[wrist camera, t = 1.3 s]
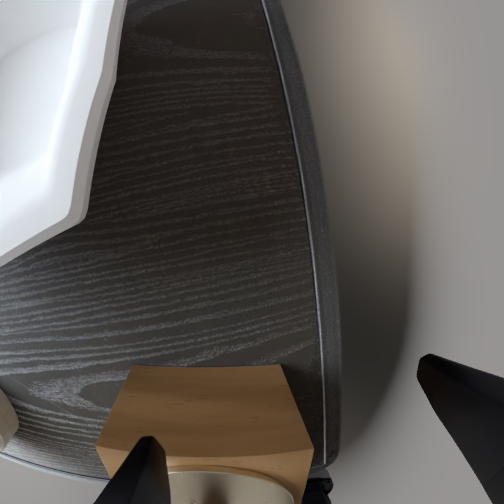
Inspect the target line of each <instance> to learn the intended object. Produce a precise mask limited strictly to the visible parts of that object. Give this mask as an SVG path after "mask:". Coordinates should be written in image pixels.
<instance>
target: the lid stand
mask: <svg viewBox="0 0 504 504" xmlns="http://www.w3.org/2000/svg"><path fill="white" fill-rule="evenodd" d="M142 436H154V437H155V438H156V439H157V441H158V442H159V443H160V444H161V446H162V447H163V448H164V450H165V453H166V461H167V467H173V466H185V465H211V466H224V467H233V468H240V469H245V470H250V471H254V472H258V473H262V474H265V475H267V476H270V477H273V478H275V479H277V480H279V481H280V482H282V483H283V484H285V485H286V486H287V487H288V488H289V490H290V491H291V493H292V496H293V500H294V504H301V500H302V497H303V493H304V489H305V485H306V482H307V478H308V474H309V469H310V465H311V461H312V457H313V452H314V447H313V444H312V442H311V440H310V437H309V435H308V432H307V430H306V427H305V425H304V422H303V420H302V418H301V415H300V413H299V410H298V408H297V405H296V403H295V400H294V398H293V395H292V393H291V390H290V388H289V385H288V383H287V380H286V378H285V375H284V373H283V370H282V368H281V365H280V364H275V365H259V366H237V367H169V366H147V365H133V366H132V368H131V370H130V372H129V374H128V376H127V378H126V380H125V382H124V384H123V386H122V388H121V390H120V392H119V395H118V397H117V399H116V401H115V403H114V405H113V407H112V409H111V411H110V413H109V416H108V418H107V420H106V422H105V424H104V426H103V429H102V431H101V433H100V435H99V438H98V440H97V442H96V444H95V448H96V450H97V452H98V454H99V456H100V458H101V460H102V462H103V464H104V466H105V468H106V470H107V472H108V474H109V476H110V477H111V478H112V477H113V476H114V474H115V473H116V471H117V470H118V469H119V467H120V466H121V464H122V463H123V461H124V460H125V459H126V457H127V456H128V454H129V453H130V451H131V450H132V449H133V447H134V446H135V444H136V443H137V441H138V440H139V439H140V438H141V437H142Z"/></svg>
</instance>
